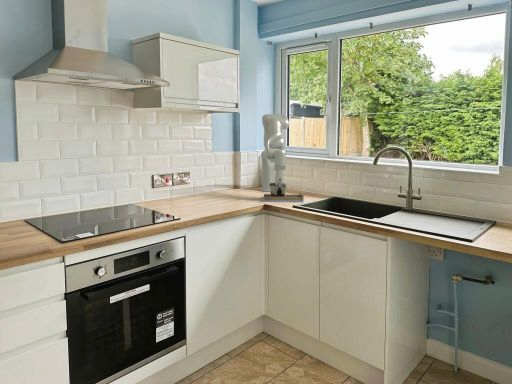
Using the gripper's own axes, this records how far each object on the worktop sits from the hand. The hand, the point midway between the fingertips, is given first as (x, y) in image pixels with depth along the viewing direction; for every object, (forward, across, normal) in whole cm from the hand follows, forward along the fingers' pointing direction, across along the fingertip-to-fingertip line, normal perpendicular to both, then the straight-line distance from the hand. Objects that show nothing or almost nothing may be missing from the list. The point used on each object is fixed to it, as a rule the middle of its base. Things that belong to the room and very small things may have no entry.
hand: (278, 194), depth 282 cm
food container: (+3, -1, 0) cm, 3 cm away
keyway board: (+4, 0, +2) cm, 5 cm away
